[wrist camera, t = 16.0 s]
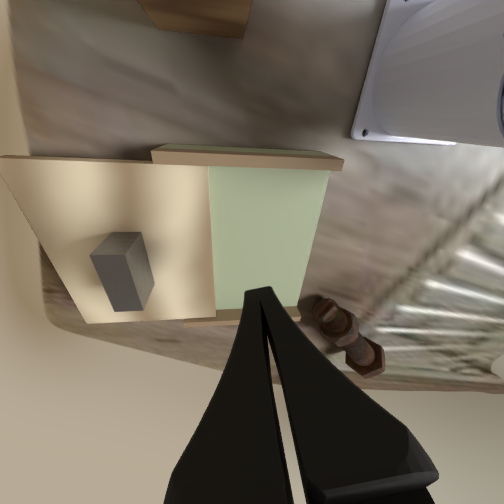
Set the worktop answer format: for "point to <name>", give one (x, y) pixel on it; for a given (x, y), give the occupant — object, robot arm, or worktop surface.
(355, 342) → the bolt
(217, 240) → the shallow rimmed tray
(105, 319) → the lid
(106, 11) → the worktop surface
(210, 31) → the block
